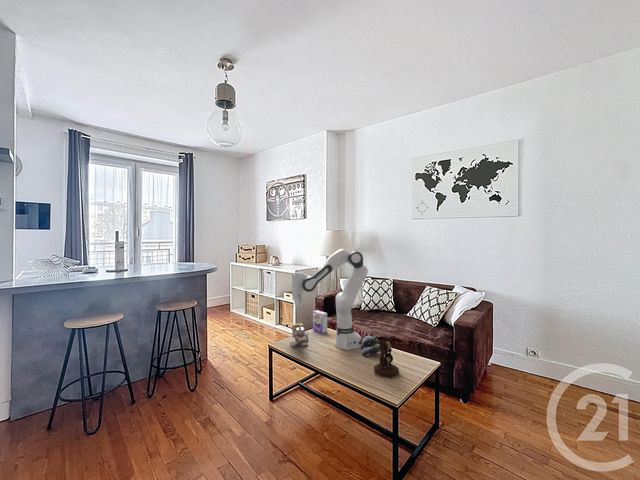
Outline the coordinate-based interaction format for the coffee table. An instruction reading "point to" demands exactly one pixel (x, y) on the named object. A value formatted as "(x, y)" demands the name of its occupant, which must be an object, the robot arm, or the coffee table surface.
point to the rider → (300, 331)
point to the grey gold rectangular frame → (299, 337)
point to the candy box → (320, 321)
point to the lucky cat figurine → (369, 345)
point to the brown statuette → (386, 360)
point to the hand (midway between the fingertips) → (298, 311)
